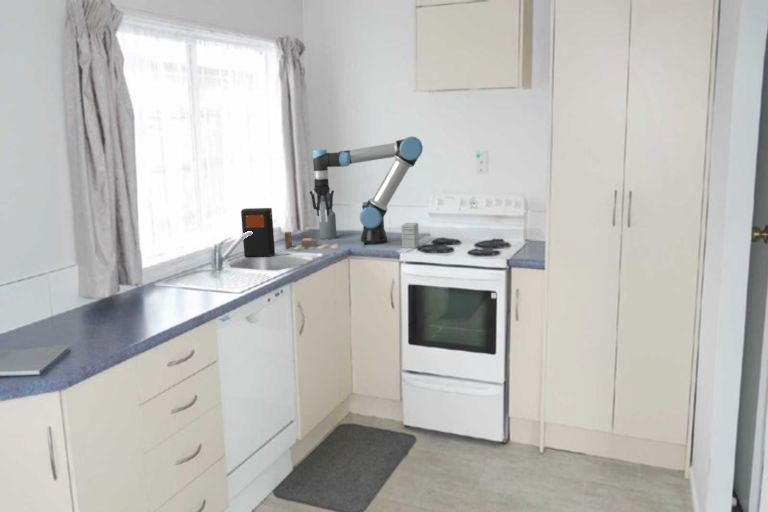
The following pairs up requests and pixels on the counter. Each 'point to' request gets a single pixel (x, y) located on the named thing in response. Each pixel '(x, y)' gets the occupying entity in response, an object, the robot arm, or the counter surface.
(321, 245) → the plywood panel
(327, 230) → the water bottle
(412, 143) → the robot arm
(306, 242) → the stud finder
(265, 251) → the voltmeter
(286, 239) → the peg
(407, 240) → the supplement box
